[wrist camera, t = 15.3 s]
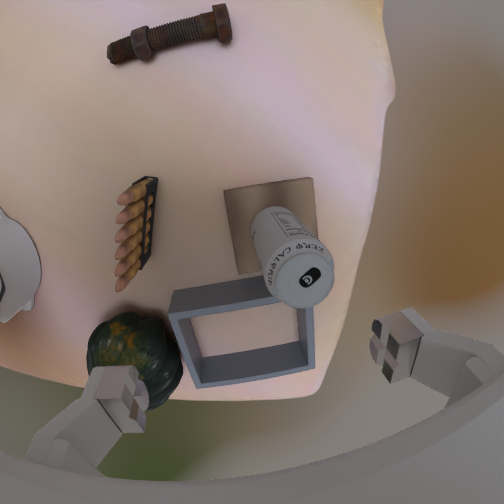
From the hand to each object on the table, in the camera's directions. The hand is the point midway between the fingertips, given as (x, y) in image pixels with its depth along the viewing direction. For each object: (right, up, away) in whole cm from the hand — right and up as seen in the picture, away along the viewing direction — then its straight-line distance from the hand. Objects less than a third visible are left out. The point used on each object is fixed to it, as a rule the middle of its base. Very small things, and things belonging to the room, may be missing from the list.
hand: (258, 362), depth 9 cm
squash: (-18, -11, +33) cm, 39 cm away
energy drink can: (+3, +7, +27) cm, 28 cm away
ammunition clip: (-14, +8, +27) cm, 31 cm away
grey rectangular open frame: (-1, -7, +34) cm, 34 cm away
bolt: (-11, +30, +19) cm, 37 cm away
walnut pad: (+3, +7, +29) cm, 30 cm away
